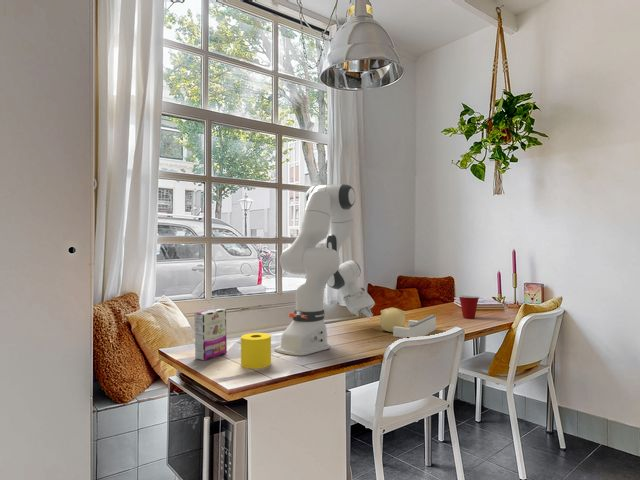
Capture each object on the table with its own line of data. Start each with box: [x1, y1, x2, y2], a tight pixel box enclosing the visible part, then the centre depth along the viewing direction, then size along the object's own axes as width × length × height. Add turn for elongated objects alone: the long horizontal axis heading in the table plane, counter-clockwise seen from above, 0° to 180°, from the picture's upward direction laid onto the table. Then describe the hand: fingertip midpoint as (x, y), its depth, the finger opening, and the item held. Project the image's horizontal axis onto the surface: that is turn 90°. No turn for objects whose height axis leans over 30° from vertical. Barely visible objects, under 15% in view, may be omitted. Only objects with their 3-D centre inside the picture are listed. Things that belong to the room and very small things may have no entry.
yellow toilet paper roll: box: [240, 332, 272, 370], centre depth 141 cm, size 10×10×9 cm
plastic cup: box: [458, 294, 480, 320], centre depth 222 cm, size 11×11×12 cm
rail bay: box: [392, 314, 437, 339], centre depth 185 cm, size 28×11×7 cm, turn 146°
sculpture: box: [379, 307, 406, 333], centre depth 191 cm, size 11×12×11 cm
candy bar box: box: [194, 308, 228, 361], centre depth 150 cm, size 11×5×16 cm, turn 148°
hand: (370, 316), depth 197 cm, fingers closed
